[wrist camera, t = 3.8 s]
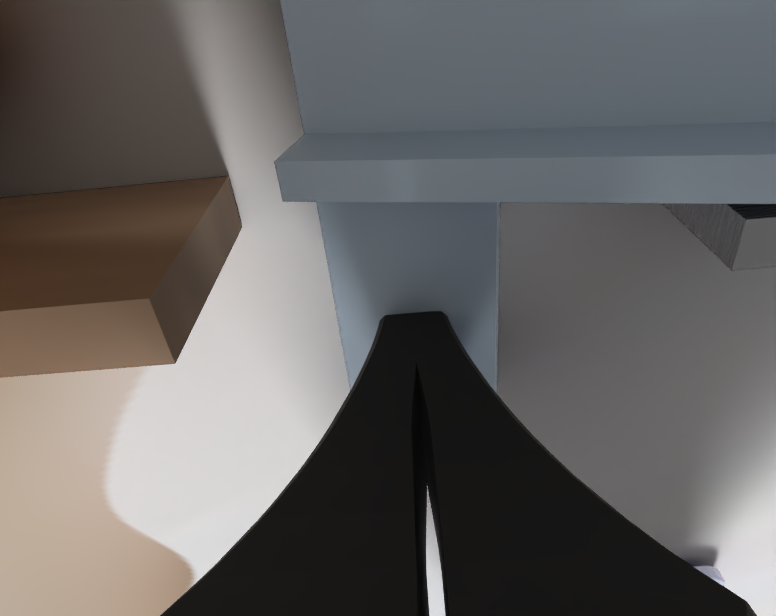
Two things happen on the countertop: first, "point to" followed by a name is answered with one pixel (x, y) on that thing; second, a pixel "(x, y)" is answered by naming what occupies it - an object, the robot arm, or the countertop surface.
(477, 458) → the robot arm
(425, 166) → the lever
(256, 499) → the countertop surface
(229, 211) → the pocket
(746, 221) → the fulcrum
